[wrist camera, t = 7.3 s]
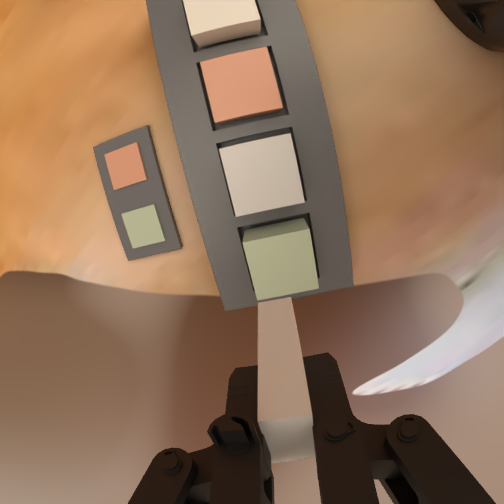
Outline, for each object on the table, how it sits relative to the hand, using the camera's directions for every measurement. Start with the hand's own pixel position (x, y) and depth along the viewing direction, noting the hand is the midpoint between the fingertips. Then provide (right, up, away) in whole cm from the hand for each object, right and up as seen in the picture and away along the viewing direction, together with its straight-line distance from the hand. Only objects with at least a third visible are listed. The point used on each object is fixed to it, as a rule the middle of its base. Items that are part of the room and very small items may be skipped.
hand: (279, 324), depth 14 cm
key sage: (+1, +3, +12) cm, 12 cm away
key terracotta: (-2, +17, +8) cm, 19 cm away
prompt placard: (-12, +9, +13) cm, 20 cm away
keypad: (-1, +14, +10) cm, 17 cm away
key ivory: (-4, +23, +5) cm, 23 cm away
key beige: (0, +10, +9) cm, 14 cm away
